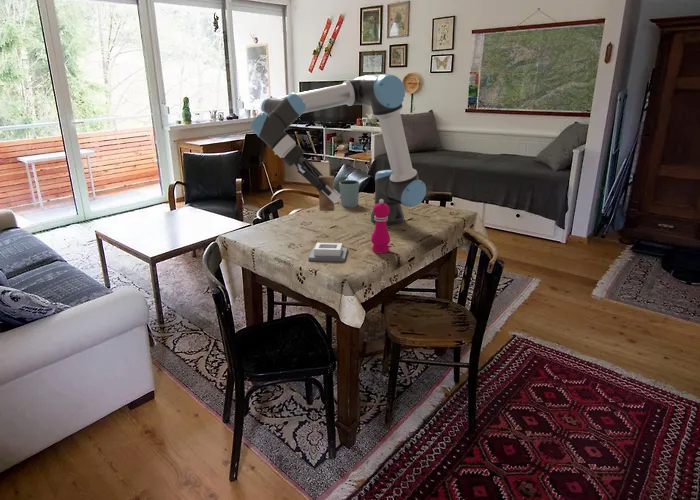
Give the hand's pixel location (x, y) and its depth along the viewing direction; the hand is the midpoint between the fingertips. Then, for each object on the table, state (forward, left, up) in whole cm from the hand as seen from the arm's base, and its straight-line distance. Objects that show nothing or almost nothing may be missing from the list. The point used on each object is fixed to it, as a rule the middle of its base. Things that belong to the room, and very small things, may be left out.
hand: (337, 199), depth 165 cm
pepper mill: (-15, -7, -22) cm, 27 cm away
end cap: (+4, 0, -21) cm, 22 cm away
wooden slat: (+4, 0, -4) cm, 6 cm away
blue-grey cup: (+3, -72, -22) cm, 75 cm away
